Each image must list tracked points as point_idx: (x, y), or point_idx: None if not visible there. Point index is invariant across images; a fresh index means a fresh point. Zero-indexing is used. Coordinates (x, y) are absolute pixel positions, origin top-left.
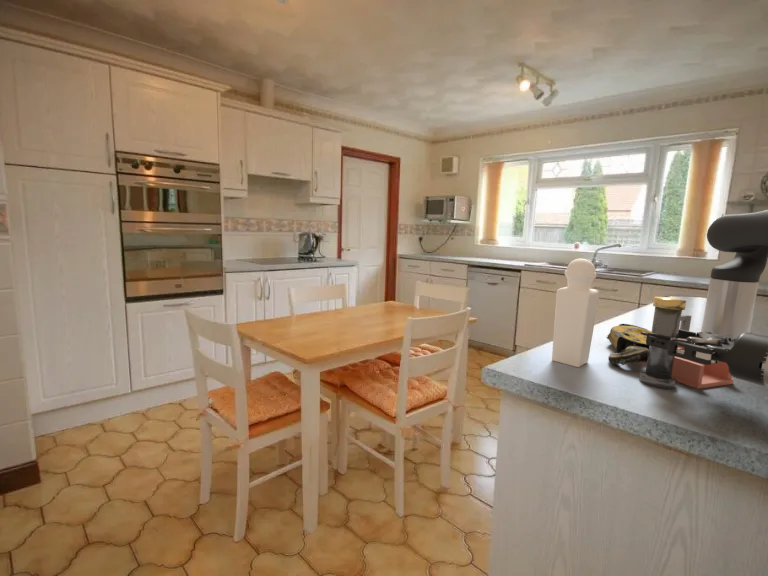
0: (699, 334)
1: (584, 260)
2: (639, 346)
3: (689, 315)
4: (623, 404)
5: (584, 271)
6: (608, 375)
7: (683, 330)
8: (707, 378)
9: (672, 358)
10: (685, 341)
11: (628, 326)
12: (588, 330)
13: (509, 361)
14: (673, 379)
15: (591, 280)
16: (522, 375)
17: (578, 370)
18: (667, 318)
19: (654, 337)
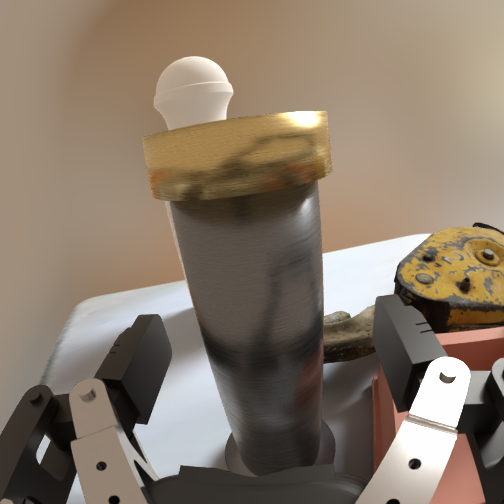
0: (421, 388)
1: (175, 61)
2: (421, 301)
3: None
4: (41, 458)
5: (160, 89)
6: (213, 382)
7: (397, 322)
8: (474, 476)
9: (265, 442)
10: (77, 437)
11: (479, 230)
12: None
13: (132, 292)
14: None
15: (188, 107)
16: (79, 325)
17: (185, 345)
18: (182, 255)
19: (114, 344)
